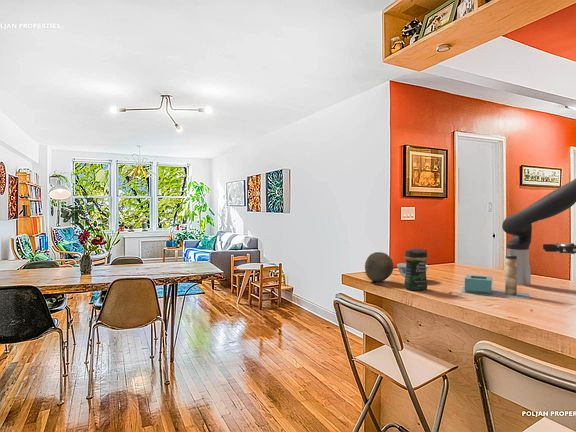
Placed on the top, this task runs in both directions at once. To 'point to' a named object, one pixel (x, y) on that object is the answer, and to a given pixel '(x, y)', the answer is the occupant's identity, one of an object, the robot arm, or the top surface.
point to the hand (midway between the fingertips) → (543, 247)
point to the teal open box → (478, 284)
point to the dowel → (511, 275)
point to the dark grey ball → (378, 266)
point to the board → (502, 294)
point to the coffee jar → (415, 269)
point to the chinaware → (404, 268)
